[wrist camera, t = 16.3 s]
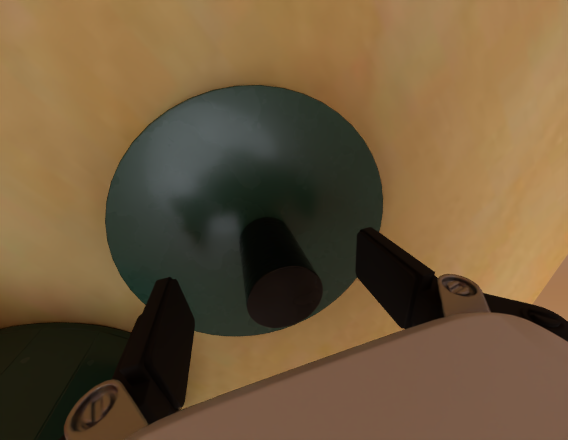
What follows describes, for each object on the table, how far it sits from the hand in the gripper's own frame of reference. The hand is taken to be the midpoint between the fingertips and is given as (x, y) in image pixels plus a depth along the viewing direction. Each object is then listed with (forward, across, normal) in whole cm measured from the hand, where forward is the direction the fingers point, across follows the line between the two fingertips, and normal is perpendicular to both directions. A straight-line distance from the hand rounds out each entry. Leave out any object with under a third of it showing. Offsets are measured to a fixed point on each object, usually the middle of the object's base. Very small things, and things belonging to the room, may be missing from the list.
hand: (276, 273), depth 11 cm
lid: (+4, 0, 0) cm, 5 cm away
